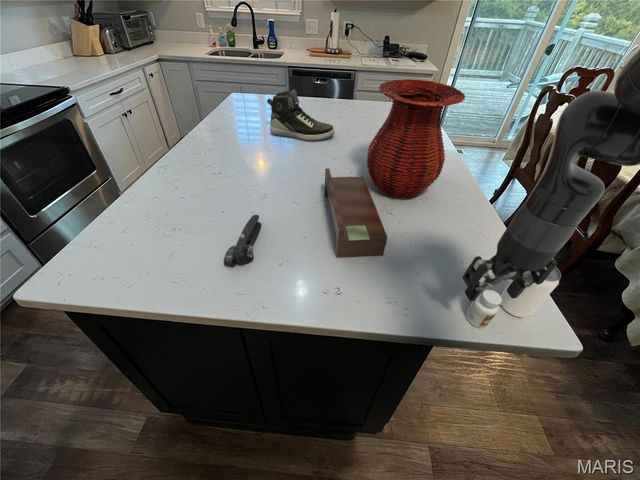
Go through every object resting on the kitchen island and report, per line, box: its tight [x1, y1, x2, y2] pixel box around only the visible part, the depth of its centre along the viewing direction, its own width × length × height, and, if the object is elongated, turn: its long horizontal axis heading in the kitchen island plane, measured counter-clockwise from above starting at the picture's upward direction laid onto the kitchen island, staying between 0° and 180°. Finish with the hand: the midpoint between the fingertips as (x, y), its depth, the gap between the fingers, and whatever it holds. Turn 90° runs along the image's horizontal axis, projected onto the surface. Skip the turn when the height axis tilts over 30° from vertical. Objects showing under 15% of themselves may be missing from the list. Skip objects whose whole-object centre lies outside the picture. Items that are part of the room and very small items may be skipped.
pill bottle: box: [465, 289, 502, 329], centre depth 59 cm, size 4×4×8 cm
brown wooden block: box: [323, 168, 388, 259], centre depth 81 cm, size 28×12×9 cm, turn 6°
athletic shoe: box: [266, 89, 335, 142], centre depth 120 cm, size 10×28×18 cm, turn 79°
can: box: [500, 266, 562, 318], centre depth 60 cm, size 6×6×12 cm
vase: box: [366, 78, 466, 199], centre depth 88 cm, size 23×24×30 cm
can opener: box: [223, 214, 262, 267], centre depth 74 cm, size 18×7×6 cm, turn 171°
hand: (490, 296), depth 57 cm, fingers open, 8 cm apart
